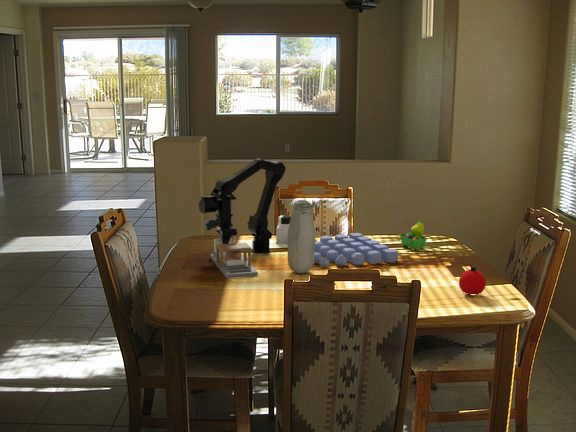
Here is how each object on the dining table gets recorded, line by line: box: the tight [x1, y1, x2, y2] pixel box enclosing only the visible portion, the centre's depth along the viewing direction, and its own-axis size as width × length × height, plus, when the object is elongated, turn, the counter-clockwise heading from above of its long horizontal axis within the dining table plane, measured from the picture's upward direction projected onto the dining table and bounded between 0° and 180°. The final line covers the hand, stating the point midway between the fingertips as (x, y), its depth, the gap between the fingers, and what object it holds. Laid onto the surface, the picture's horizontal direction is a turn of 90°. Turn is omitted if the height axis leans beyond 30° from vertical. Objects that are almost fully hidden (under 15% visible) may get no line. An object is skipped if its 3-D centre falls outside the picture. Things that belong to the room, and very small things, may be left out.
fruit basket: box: [399, 221, 428, 249], centre depth 293 cm, size 11×9×11 cm
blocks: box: [313, 232, 399, 269], centre depth 280 cm, size 35×34×5 cm
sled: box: [213, 238, 245, 266], centre depth 266 cm, size 7×24×5 cm, turn 18°
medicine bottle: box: [275, 214, 291, 245], centre depth 300 cm, size 7×7×12 cm
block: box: [226, 251, 242, 260], centre depth 259 cm, size 5×5×4 cm
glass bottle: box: [287, 199, 316, 274], centre depth 251 cm, size 10×10×28 cm
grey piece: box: [209, 242, 259, 279], centre depth 260 cm, size 12×30×8 cm, turn 18°
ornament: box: [458, 266, 487, 295], centre depth 228 cm, size 9×9×10 cm
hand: (224, 247), depth 273 cm, fingers closed
